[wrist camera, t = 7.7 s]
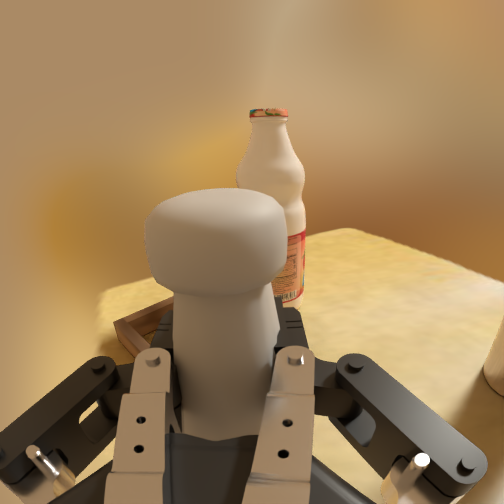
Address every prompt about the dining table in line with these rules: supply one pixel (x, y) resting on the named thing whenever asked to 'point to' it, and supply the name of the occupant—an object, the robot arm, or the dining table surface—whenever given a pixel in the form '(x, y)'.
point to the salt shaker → (220, 302)
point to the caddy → (141, 326)
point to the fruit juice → (278, 192)
